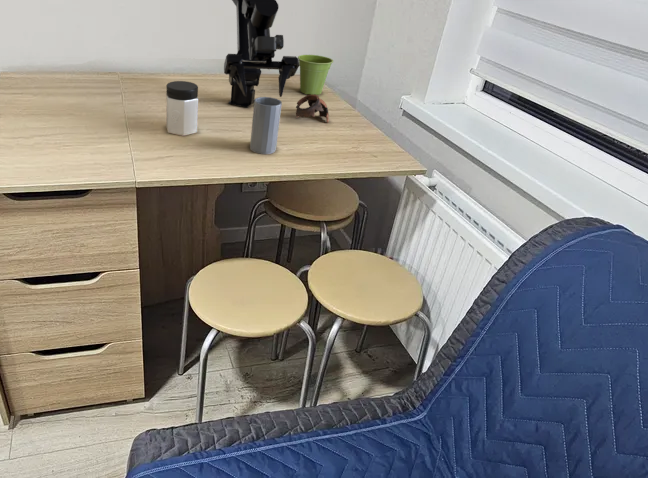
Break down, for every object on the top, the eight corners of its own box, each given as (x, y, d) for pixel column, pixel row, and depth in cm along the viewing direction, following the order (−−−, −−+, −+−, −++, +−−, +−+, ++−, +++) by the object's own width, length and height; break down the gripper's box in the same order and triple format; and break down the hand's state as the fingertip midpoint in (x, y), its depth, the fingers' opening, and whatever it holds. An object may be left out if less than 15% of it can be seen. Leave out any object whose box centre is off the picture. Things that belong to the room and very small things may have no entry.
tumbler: (245, 150, 132) (250, 102, 125) (255, 141, 137) (260, 95, 131) (270, 156, 130) (276, 107, 123) (279, 147, 135) (285, 100, 129)
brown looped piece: (331, 128, 152) (323, 105, 146) (300, 137, 155) (291, 115, 150) (330, 105, 160) (322, 82, 154) (301, 114, 163) (292, 92, 158)
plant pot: (333, 92, 180) (339, 59, 174) (318, 100, 171) (324, 65, 165) (302, 84, 185) (307, 52, 179) (287, 92, 176) (291, 58, 170)
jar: (159, 131, 138) (159, 86, 131) (172, 122, 145) (172, 78, 138) (191, 138, 136) (192, 92, 130) (202, 127, 143) (204, 84, 136)
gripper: (228, 19, 126) (231, 78, 122) (302, 23, 129) (308, 81, 126) (222, 45, 136) (225, 100, 133) (291, 48, 139) (295, 102, 136)
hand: (263, 95), depth 132 cm, fingers open, 9 cm apart
